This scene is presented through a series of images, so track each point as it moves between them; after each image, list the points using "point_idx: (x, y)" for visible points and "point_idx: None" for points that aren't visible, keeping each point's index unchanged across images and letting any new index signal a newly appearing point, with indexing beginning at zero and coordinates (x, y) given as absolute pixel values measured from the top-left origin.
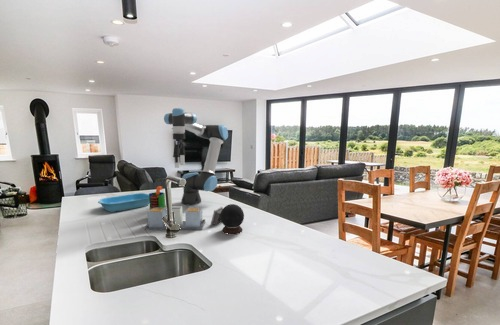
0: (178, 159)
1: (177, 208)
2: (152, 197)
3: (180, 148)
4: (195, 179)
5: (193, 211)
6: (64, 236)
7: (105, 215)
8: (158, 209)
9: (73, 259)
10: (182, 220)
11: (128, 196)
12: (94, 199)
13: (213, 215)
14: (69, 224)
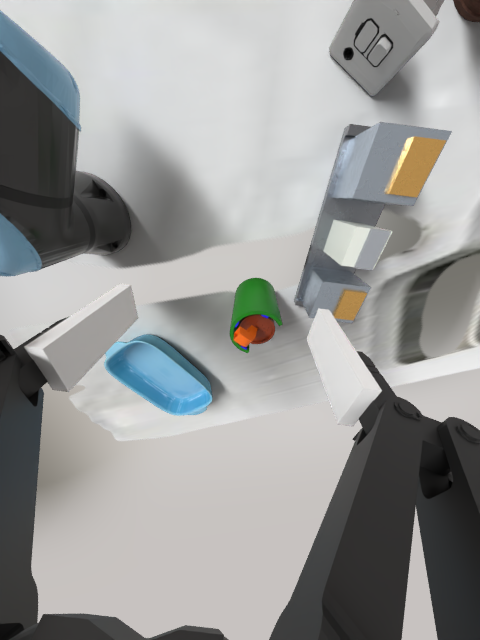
0: (362, 369)
1: (384, 241)
2: (271, 337)
3: (328, 616)
4: (30, 190)
5: (431, 166)
6: (319, 401)
7: (226, 384)
8: (353, 300)
9: (423, 370)
10: (337, 220)
11: (131, 382)
12: (129, 418)
13: (410, 56)
14: (266, 410)
